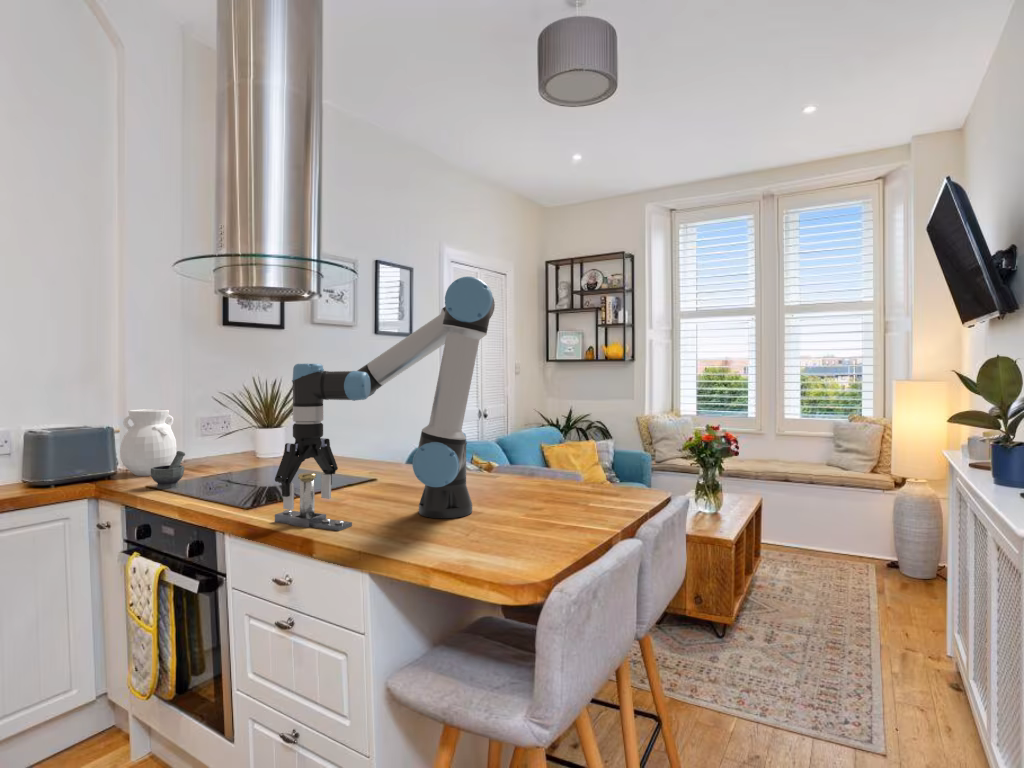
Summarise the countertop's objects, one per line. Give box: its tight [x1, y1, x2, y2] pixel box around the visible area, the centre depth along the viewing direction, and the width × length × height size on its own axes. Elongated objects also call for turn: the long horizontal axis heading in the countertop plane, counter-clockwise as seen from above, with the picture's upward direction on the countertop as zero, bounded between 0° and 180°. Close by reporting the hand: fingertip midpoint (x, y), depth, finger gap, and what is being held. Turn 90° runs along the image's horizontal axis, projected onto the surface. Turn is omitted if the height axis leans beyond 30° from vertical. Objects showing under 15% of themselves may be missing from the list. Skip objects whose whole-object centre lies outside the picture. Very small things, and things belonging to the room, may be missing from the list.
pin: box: [297, 471, 317, 519], centre depth 148 cm, size 4×4×13 cm
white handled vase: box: [119, 408, 177, 477], centre depth 219 cm, size 19×18×25 cm
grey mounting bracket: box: [274, 509, 353, 532], centre depth 147 cm, size 21×6×3 cm, turn 67°
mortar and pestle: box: [150, 450, 186, 490], centre depth 195 cm, size 11×9×12 cm
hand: (308, 503), depth 148 cm, fingers open, 13 cm apart
